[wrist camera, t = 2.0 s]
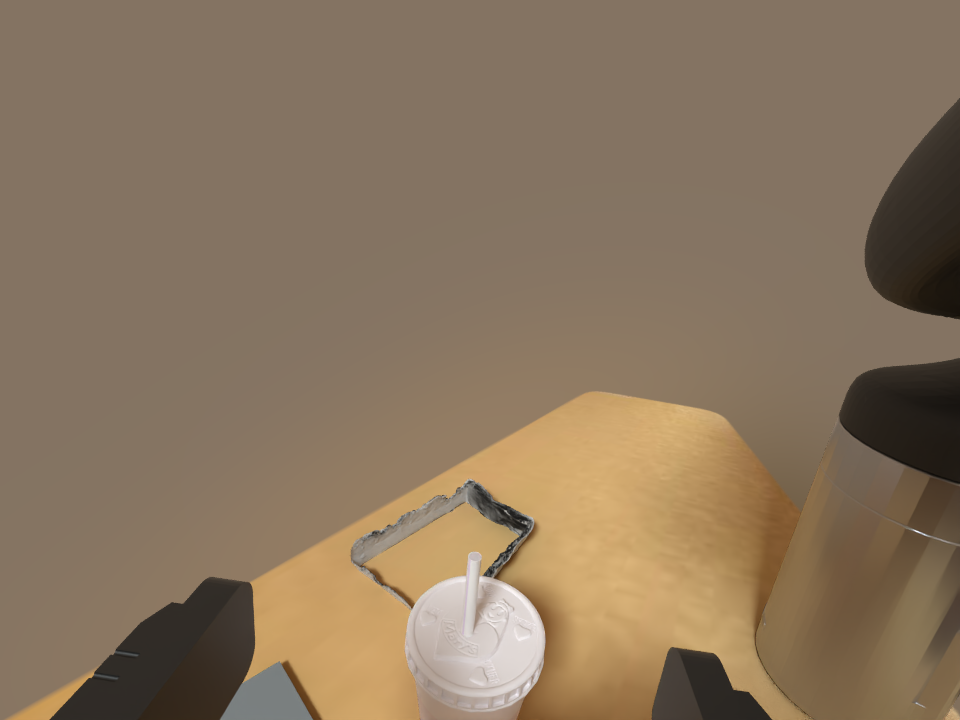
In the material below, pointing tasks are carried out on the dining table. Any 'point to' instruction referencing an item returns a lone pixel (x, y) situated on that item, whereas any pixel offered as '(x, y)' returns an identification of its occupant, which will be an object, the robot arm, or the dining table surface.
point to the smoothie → (474, 648)
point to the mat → (267, 698)
